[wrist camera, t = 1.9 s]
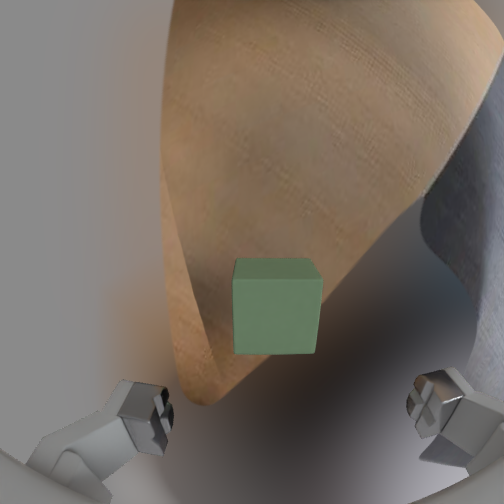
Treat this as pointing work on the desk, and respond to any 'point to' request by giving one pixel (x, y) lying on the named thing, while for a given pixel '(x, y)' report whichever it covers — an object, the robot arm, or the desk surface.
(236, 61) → the desk surface
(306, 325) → the green pad
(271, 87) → the desk surface
